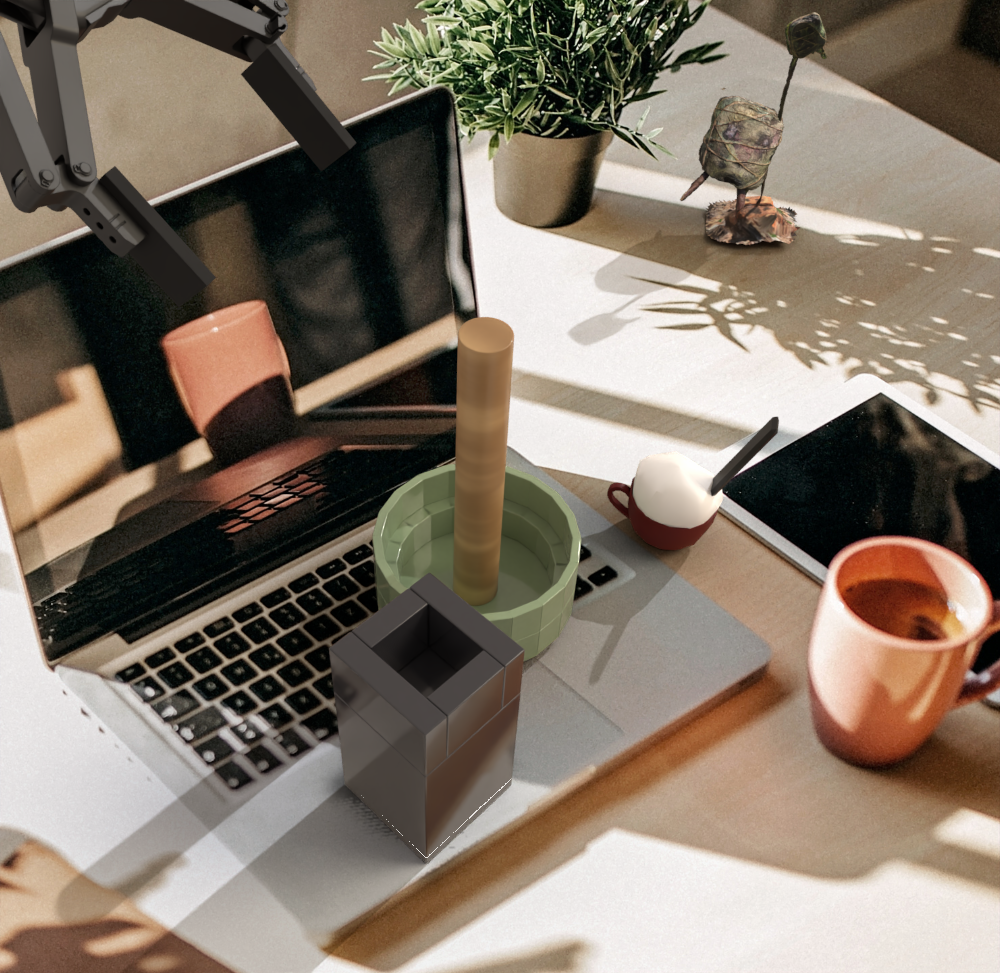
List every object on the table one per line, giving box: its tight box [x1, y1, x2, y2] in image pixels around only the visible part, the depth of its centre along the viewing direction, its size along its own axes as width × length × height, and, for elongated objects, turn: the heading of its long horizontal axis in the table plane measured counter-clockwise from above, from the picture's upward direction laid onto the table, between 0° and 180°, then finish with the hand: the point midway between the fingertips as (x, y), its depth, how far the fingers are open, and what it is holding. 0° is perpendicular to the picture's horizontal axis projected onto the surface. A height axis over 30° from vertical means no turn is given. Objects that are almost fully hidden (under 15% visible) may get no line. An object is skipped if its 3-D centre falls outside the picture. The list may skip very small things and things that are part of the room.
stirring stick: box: [453, 316, 515, 606], centre depth 69 cm, size 3×3×22 cm
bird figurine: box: [679, 11, 828, 246], centre depth 101 cm, size 8×11×20 cm
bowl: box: [371, 463, 582, 662], centre depth 75 cm, size 13×13×6 cm
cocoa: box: [606, 416, 780, 551], centre depth 78 cm, size 10×6×12 cm, turn 54°
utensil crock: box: [328, 573, 525, 865], centre depth 63 cm, size 7×7×14 cm
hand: (273, 220), depth 59 cm, fingers open, 13 cm apart
